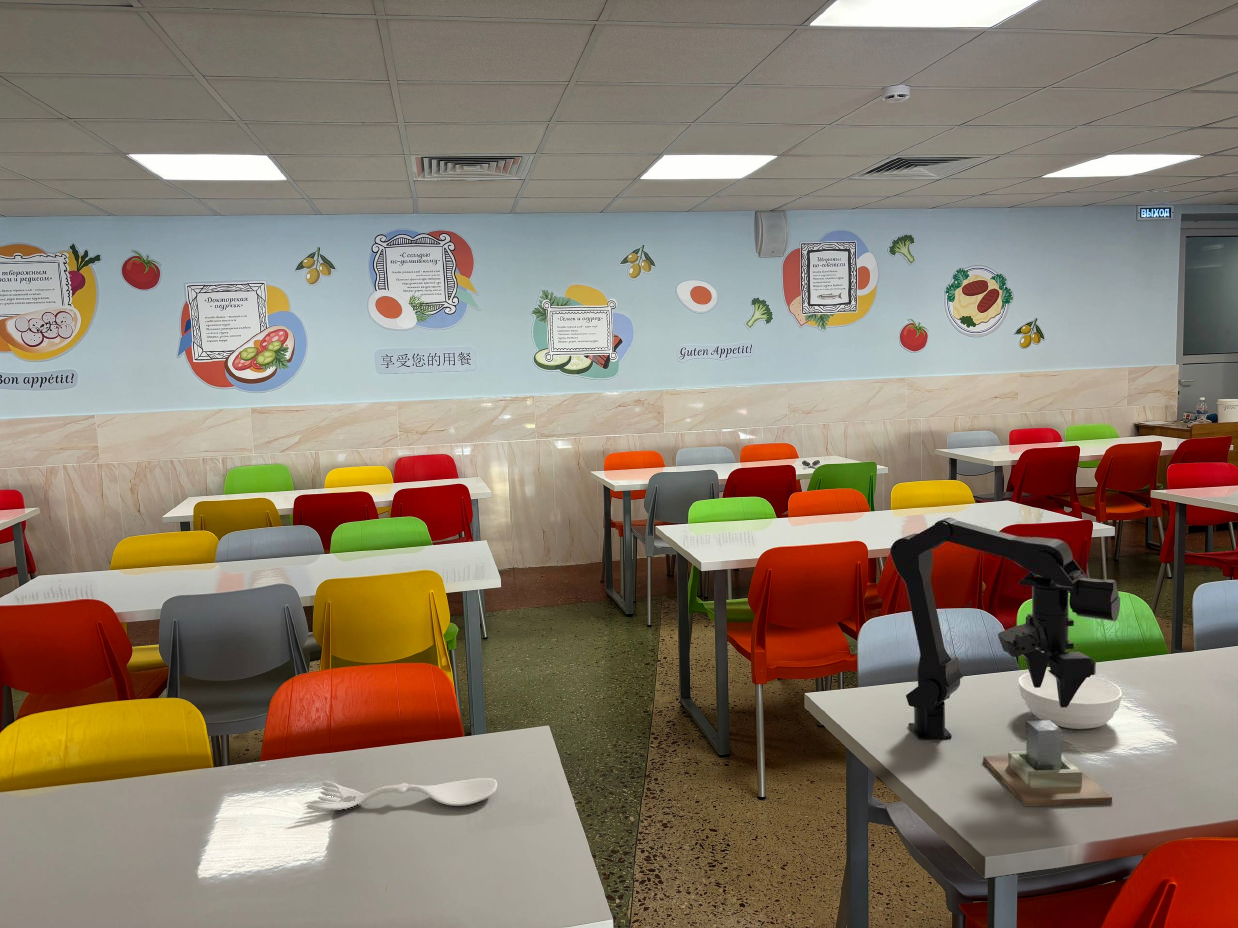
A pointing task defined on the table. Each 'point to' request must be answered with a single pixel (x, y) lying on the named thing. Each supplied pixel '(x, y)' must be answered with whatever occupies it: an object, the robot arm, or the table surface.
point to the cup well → (1045, 782)
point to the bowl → (1072, 701)
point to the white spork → (443, 793)
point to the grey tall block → (1043, 745)
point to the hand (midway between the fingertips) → (1049, 696)
